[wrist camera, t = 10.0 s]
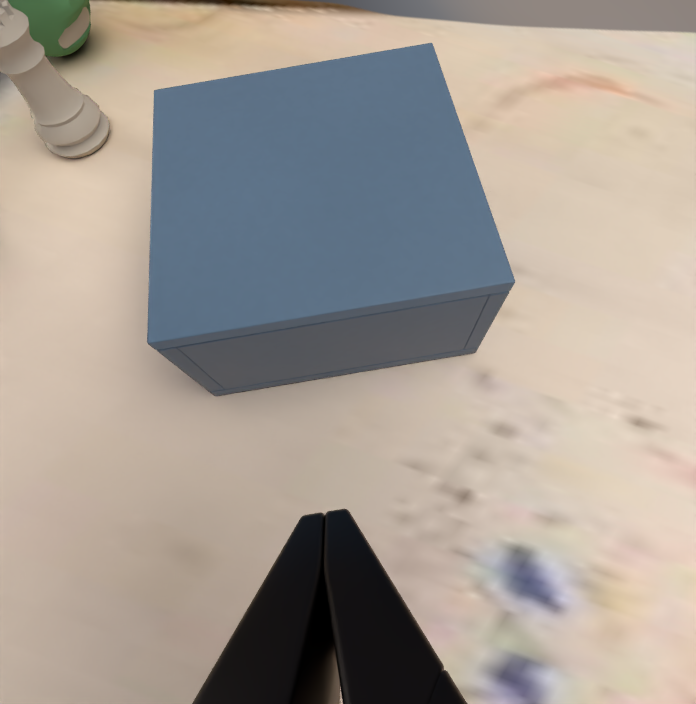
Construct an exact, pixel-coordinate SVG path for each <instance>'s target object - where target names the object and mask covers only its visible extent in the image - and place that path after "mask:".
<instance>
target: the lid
mask: <svg viewBox="0 0 696 704" xmlns="http://www.w3.org/2000/svg"><path fill="white" fill-rule="evenodd" d="M514 283H515V279H514V277H513V274H512V271H511V268H510V265H509V262H508V259H507V256H506V254H505V251H504V248H503V245H502V242H501V239H500V236H499V233H498V231H497V228H496V225H495V222H494V219H493V216H492V213H491V211H490V208H489V205H488V202H487V199H486V196H485V193H484V190H483V188H482V185H481V182H480V179H479V176H478V173H477V170H476V167H475V165H474V162H473V159H472V156H471V153H470V150H469V147H468V144H467V142H466V139H465V136H464V133H463V130H462V127H461V124H460V121H459V119H458V116H457V113H456V110H455V107H454V104H453V101H452V99H451V96H450V93H449V90H448V87H447V84H446V81H445V78H444V76H443V73H442V70H441V67H440V64H439V61H438V58H437V55H436V53H435V50H434V47H433V44H432V43H428V44H422V45H416V46H410V47H404V48H399V49H393V50H387V51H381V52H375V53H369V54H363V55H358V56H352V57H346V58H340V59H334V60H328V61H322V62H317V63H311V64H305V65H299V66H293V67H287V68H281V69H276V70H270V71H264V72H258V73H252V74H246V75H240V76H235V77H229V78H223V79H217V80H211V81H205V82H199V83H194V84H188V85H182V86H176V87H170V88H164V89H158V90H154V114H153V151H152V188H151V225H150V261H149V298H148V335H147V343H148V344H149V345H150V346H151V347H153V348H154V349H155V350H159V349H165V348H171V347H177V346H183V345H189V344H195V343H201V342H207V341H213V340H219V339H225V338H231V337H237V336H243V335H249V334H255V333H261V332H267V331H273V330H279V329H285V328H291V327H297V326H302V325H308V324H314V323H320V322H326V321H332V320H338V319H344V318H350V317H356V316H362V315H368V314H374V313H380V312H386V311H392V310H398V309H404V308H410V307H416V306H422V305H428V304H434V303H440V302H446V301H452V300H458V299H464V298H470V297H476V296H482V295H487V294H493V293H499V292H505V291H510V290H511V288H512V286H513V285H514Z"/></svg>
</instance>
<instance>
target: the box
mask: <svg viewBox="0 0 696 704" xmlns="http://www.w3.org/2000/svg"><path fill="white" fill-rule="evenodd" d="M508 294H509V291H505V292H499V293H493V294H487V295H482V296H476V297H470V298H464V299H458V300H452V301H446V302H440V303H434V304H428V305H422V306H416V307H410V308H404V309H398V310H392V311H386V312H380V313H374V314H368V315H362V316H356V317H350V318H344V319H338V320H332V321H326V322H320V323H314V324H308V325H302V326H297V327H291V328H285V329H279V330H273V331H267V332H261V333H255V334H249V335H243V336H237V337H231V338H225V339H219V340H213V341H207V342H201V343H195V344H189V345H183V346H177V347H171V348H165V349H159V350H157V351H158V352H159V353H160V354H162V355H163V356H164V357H166V358H167V359H168V360H169V361H171V362H172V363H173V364H174V365H176V366H177V367H178V368H180V369H181V370H182V371H183V372H185V373H186V374H187V375H188V376H190V377H191V378H192V379H194V380H195V381H196V382H197V383H199V384H200V385H201V386H203V387H204V388H205V389H206V390H208V391H209V392H210V393H212V394H213V395H214V396H219V395H225V394H231V393H237V392H243V391H249V390H255V389H261V388H267V387H273V386H279V385H285V384H291V383H297V382H303V381H309V380H315V379H321V378H327V377H333V376H339V375H345V374H351V373H357V372H363V371H369V370H375V369H381V368H387V367H393V366H399V365H405V364H411V363H417V362H423V361H429V360H435V359H441V358H447V357H452V356H458V355H464V354H470V353H475V352H476V351H477V349H478V347H479V345H480V344H481V342H482V340H483V338H484V337H485V335H486V333H487V331H488V329H489V328H490V326H491V324H492V322H493V320H494V319H495V317H496V315H497V313H498V311H499V310H500V308H501V306H502V304H503V302H504V301H505V299H506V297H507V295H508Z"/></svg>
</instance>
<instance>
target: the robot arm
mask: <svg viewBox="0 0 696 704" xmlns="http://www.w3.org/2000/svg"><path fill="white" fill-rule="evenodd" d="M340 686H341V692H342V699H343V704H467V702H466V701H465V699H464V698H463V696H462V695H461V693H460V691H459V690H458V688H457V687H456V685H455V683H454V682H453V680H452V678H451V677H450V675H449V673H448V672H447V671H446V670H444V666H443V664H442V663H441V661H440V659H439V658H438V656H437V654H436V653H435V651H434V649H433V648H432V646H431V645H430V643H429V641H428V640H427V638H426V636H425V635H424V633H423V631H422V630H421V628H420V627H419V625H418V623H417V622H416V620H415V618H414V617H413V615H412V613H411V612H410V610H409V609H408V607H407V605H406V604H405V602H404V600H403V599H402V597H401V595H400V594H399V592H398V591H397V589H396V587H395V586H394V584H393V582H392V581H391V579H390V577H389V576H388V574H387V573H386V571H385V569H384V568H383V566H382V564H381V563H380V561H379V559H378V558H377V556H376V555H375V553H374V551H373V550H372V548H371V546H370V545H369V543H368V541H367V540H366V538H365V537H364V535H363V533H362V532H361V530H360V528H359V527H358V525H357V523H356V522H355V520H354V519H353V517H352V515H351V514H350V512H349V511H348V510H347V509H340V510H334V511H328V512H327V513H326V515H324V514H323V513H315V514H309V515H304V516H302V517H301V518H300V520H299V522H298V523H297V525H296V527H295V529H294V530H293V532H292V534H291V535H290V537H289V539H288V541H287V542H286V544H285V546H284V547H283V549H282V551H281V553H280V554H279V556H278V558H277V559H276V561H275V563H274V565H273V566H272V568H271V570H270V571H269V573H268V575H267V577H266V578H265V580H264V582H263V583H262V585H261V587H260V589H259V590H258V592H257V594H256V595H255V597H254V599H253V601H252V602H251V604H250V606H249V607H248V609H247V611H246V613H245V614H244V616H243V618H242V619H241V621H240V623H239V624H238V626H237V628H236V630H235V631H234V633H233V635H232V636H231V638H230V640H229V642H228V643H227V645H226V647H225V648H224V650H223V652H222V654H221V655H220V657H219V659H218V660H217V662H216V664H215V666H214V667H213V669H212V671H211V672H210V674H209V676H208V678H207V679H206V681H205V683H204V684H203V686H202V688H201V690H200V691H199V693H198V695H197V696H196V698H195V700H194V702H193V703H192V704H340Z"/></svg>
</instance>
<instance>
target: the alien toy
mask: <svg viewBox="0 0 696 704" xmlns="http://www.w3.org/2000/svg"><path fill="white" fill-rule="evenodd" d="M7 1H8V2H9V4H10V5H11V6H12V7H13V8H15V9H17V10H19V11H21V12H23V13H24V14H25V15H26V16H27V17H28V22H29V34H30V36H31V37H32V39H33V40H34V41H36V42H38V43H40V44H41V45H42V46H43V47H44V52H45V56H53V57H58V56H65V55H69V54H71V53H74V52H75V51H77V50H78V49H79V48H80V47H81V46H82V45H83V44H84V42H85V41H86V39H87V37H88V34H89V31H90V26H91V22H90V4H89V0H7Z"/></svg>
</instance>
